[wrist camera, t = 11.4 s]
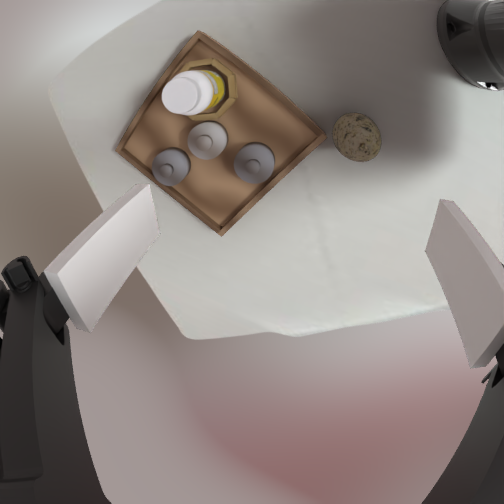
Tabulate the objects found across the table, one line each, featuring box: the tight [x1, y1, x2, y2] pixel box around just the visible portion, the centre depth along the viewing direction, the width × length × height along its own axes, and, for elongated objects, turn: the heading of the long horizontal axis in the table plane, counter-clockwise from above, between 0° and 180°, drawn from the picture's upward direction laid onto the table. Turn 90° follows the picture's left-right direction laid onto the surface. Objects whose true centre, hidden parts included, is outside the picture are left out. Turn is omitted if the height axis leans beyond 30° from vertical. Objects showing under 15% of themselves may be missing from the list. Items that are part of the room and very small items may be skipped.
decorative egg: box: [332, 113, 381, 162], centre depth 31 cm, size 6×6×10 cm
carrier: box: [115, 31, 327, 237], centre depth 36 cm, size 22×22×5 cm
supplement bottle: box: [162, 70, 225, 115], centre depth 29 cm, size 5×5×10 cm
